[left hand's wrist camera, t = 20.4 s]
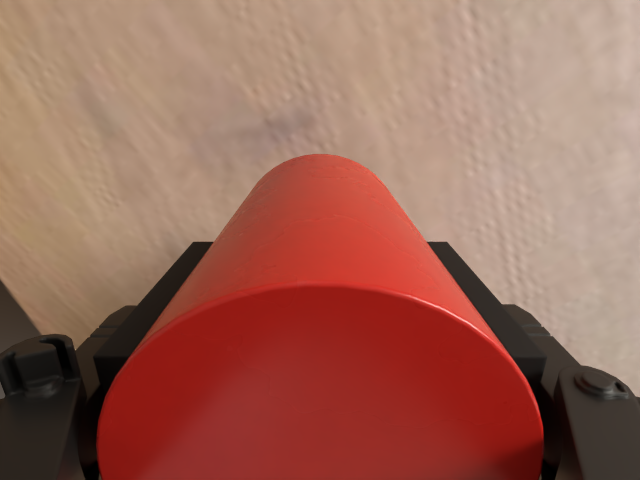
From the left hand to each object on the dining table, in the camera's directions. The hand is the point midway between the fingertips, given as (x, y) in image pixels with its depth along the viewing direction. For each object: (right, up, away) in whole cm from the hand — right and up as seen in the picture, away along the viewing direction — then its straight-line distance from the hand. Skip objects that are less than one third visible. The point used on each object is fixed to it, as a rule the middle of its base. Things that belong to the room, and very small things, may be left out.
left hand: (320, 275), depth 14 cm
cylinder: (0, +2, +4) cm, 5 cm away
